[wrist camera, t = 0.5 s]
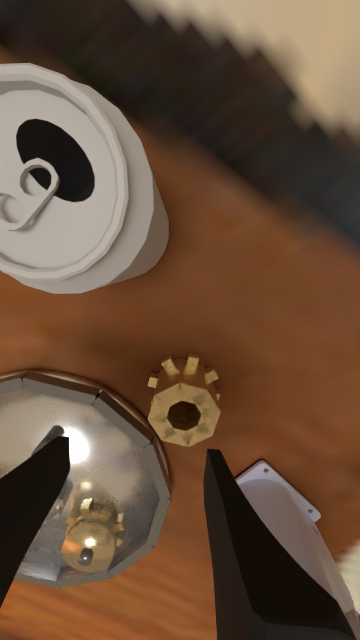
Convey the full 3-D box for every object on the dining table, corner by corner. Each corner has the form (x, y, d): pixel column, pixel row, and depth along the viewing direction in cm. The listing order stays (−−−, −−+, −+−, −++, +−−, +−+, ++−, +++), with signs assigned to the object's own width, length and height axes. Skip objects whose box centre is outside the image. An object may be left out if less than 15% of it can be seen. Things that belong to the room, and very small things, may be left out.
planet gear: (227, 362, 21) (239, 389, 17) (207, 422, 23) (212, 460, 18) (158, 344, 21) (152, 366, 17) (142, 406, 23) (132, 441, 18)
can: (189, 229, 19) (198, 174, 7) (127, 296, 20) (50, 343, 9) (117, 155, 18) (-10, -52, 6) (57, 232, 19) (-143, 184, 7)
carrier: (217, 479, 24) (224, 525, 20) (70, 591, 29) (50, 648, 24) (30, 316, 21) (-10, 330, 16) (-107, 473, 25) (-167, 516, 21)
